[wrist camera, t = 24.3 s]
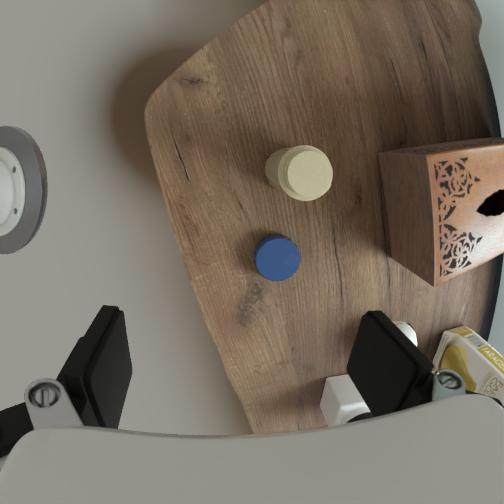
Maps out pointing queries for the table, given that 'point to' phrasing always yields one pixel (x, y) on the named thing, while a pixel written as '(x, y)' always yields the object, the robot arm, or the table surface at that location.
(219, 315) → the table surface
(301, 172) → the jar
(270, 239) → the jar lid
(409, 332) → the white egg shaped container
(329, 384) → the medicine bottle
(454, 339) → the juice carton
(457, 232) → the tissue box cover
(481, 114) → the table surface
